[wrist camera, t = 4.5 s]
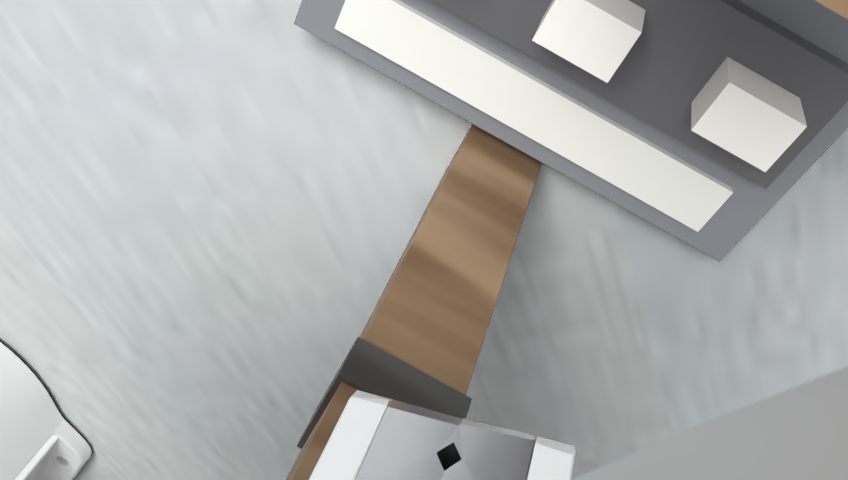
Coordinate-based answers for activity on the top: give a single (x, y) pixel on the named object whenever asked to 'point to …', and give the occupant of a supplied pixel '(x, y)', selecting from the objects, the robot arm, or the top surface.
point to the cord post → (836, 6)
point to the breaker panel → (626, 92)
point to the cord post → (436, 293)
